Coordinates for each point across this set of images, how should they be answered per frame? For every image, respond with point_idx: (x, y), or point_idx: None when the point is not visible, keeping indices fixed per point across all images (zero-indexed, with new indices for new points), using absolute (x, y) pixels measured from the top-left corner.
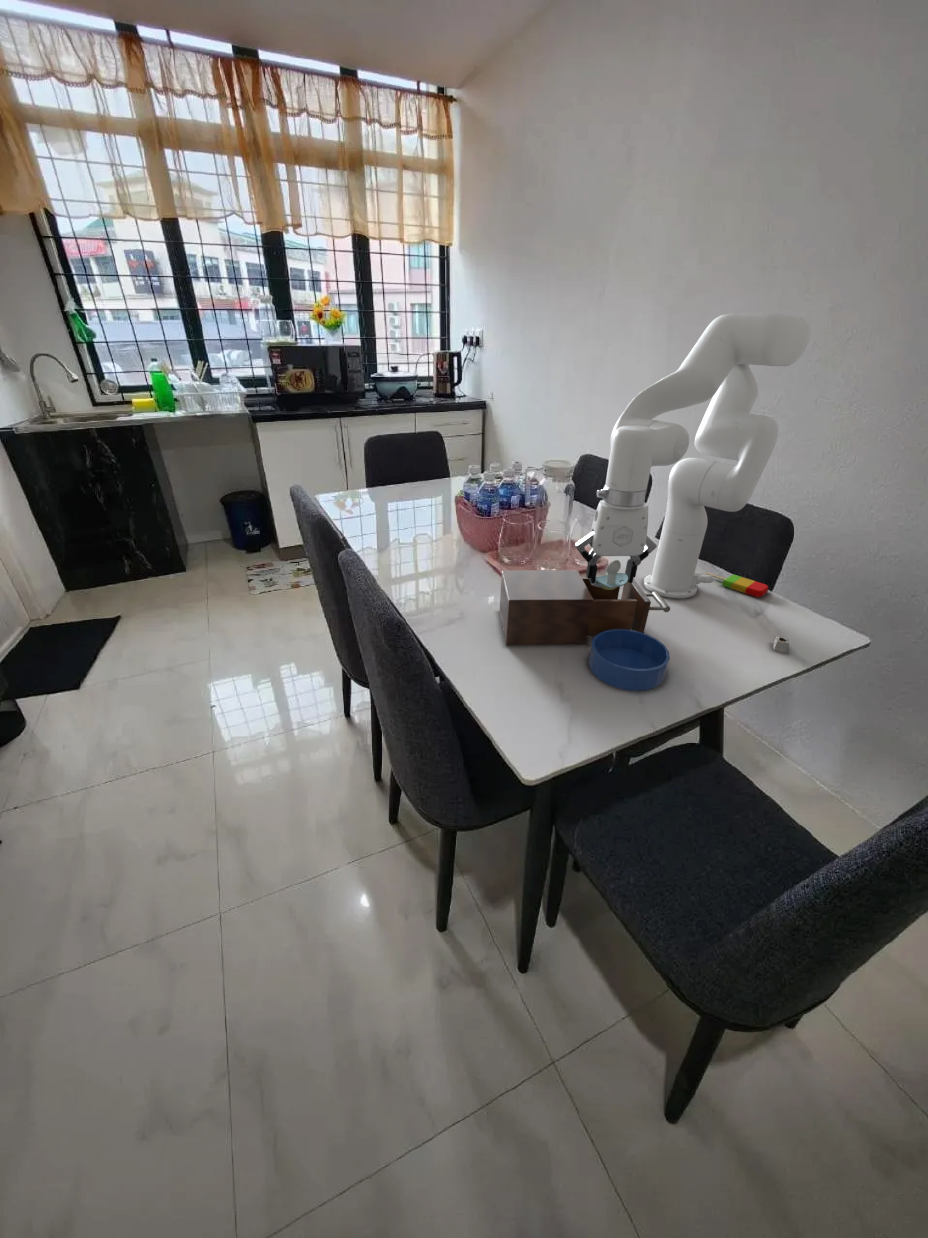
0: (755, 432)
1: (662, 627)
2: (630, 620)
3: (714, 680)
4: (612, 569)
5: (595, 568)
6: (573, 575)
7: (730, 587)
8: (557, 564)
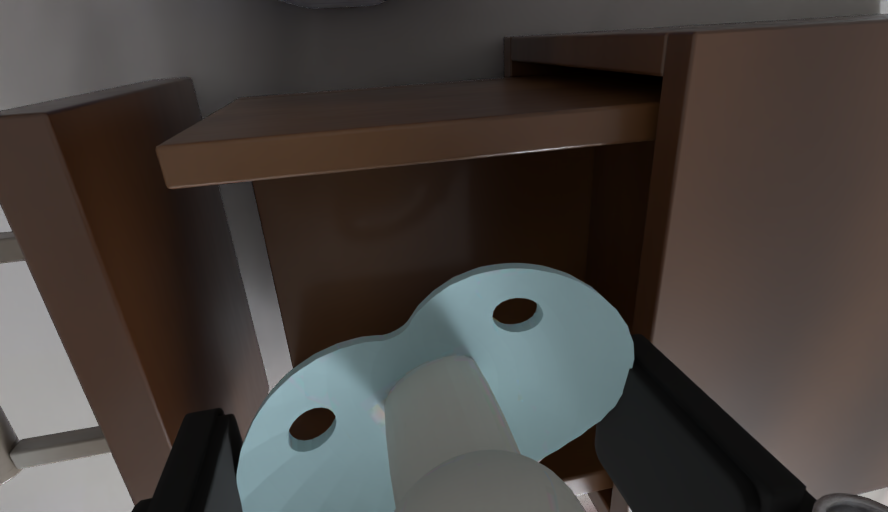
0: None
1: (10, 267)
2: (235, 111)
3: None
4: (523, 488)
5: (758, 461)
6: None
7: None
8: None
